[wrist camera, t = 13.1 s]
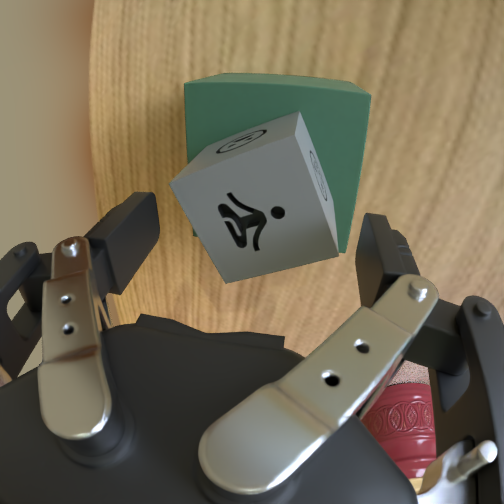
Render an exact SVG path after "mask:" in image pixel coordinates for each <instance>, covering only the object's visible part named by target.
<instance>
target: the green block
mask: <svg viewBox="0 0 504 504" xmlns="http://www.w3.org/2000/svg"><path fill="white" fill-rule="evenodd" d="M184 96H185V122H186V143H187V160H188V164H189V163H190V162H191V161H192V160H193V159H194V158H195V157H196V156H197V155H198V154H199V153H200V152H201V151H202V150H203V149H204V148H205V147H206V146H208V145H211V144H213V143H215V142H218V141H220V140H223V139H225V138H227V137H230V136H232V135H235V134H237V133H240V132H242V131H245V130H248V129H250V128H253V127H255V126H258V125H261V124H263V123H266V122H269V121H272V120H274V119H277V118H280V117H283V116H286V115H288V114H291V113H294V112H297V111H300V113H301V115H302V118H303V120H304V123H305V125H306V128H307V130H308V133H309V135H310V138H311V141H312V143H313V146H314V148H315V151H316V154H317V156H318V159H319V162H320V165H321V167H322V170H323V173H324V176H325V179H326V181H327V184H328V187H329V190H330V193H331V196H332V199H333V203H334V212H335V221H336V231H337V241H338V252H339V253H345V252H346V249H347V244H348V239H349V234H350V229H351V224H352V219H353V214H354V209H355V204H356V198H357V193H358V187H359V181H360V175H361V169H362V163H363V156H364V150H365V143H366V135H367V128H368V120H369V112H370V103H371V94H369V93H368V92H366V91H364V90H363V89H361V88H360V87H358V86H356V85H355V84H353V83H351V82H347V81H340V80H333V79H324V78H315V77H305V76H293V75H278V74H255V73H223V74H219V75H214V76H210V77H206V78H202V79H198V80H194V81H190V82H186V83H184ZM193 236H195V237H198V235H197V234H196V232H195V230H194V228H193Z"/></svg>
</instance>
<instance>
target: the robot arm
mask: <svg viewBox="0 0 504 504" xmlns="http://www.w3.org/2000/svg"><path fill="white" fill-rule="evenodd" d="M159 234H160V225H159V218H158V211H157V203H156V197H155V194H154V193H152V192H134V193H133V194H132V195H131V196H130V197H128V198H127V199H126V200H125V201H124V202H123V203H121V204H120V205H118V206H116V207H114V208H112V209H111V210H110V211H109V212H108V213H107V214H106V215H105V216H104V217H103V218H102V219H101V220H100V222H98V223H97V224H96V225H95V226H94V227H93V228H92V229H91V230H90V231H89V232H88V233H87V234H86V235H85V236H84V237H80V236H76V237H70V238H67V239H65V240H63V241H61V242H60V243H58V244H57V245H56V246H55V248H54V249H53V252H52V253H45V254H39V252H38V249H37V246H36V244H35V243H33V242H24V243H21V244H18V245H17V246H15V247H13V248H12V249H11V250H10V251H9V252H8V253H7V254H6V255H5V256H4V257H3V258H2V259H1V260H0V504H504V325H503V323H502V320H501V318H500V315H499V313H498V311H497V309H496V308H495V307H494V306H493V305H492V304H491V303H490V302H489V301H488V300H486V299H484V298H482V297H479V296H468V297H466V298H465V299H464V301H463V303H462V305H461V306H458V305H455V304H452V303H449V302H446V301H444V300H441V299H439V293H438V290H437V288H436V287H435V285H434V284H433V283H431V282H430V281H429V280H427V279H426V278H424V277H421V276H420V273H419V270H418V268H417V265H416V263H415V260H414V257H413V256H412V253H411V250H410V249H409V245H408V243H407V240H406V238H405V237H404V236H403V235H402V234H401V233H400V232H399V231H398V230H392V229H391V228H390V225H389V223H388V220H387V218H386V216H385V215H379V214H371V213H366V214H365V215H364V219H363V223H362V228H361V232H360V237H359V241H358V245H357V250H356V258H355V265H356V272H357V279H358V286H359V293H360V301H361V307H360V308H359V309H358V310H357V311H356V312H355V313H354V314H353V315H352V316H351V317H350V318H349V319H347V320H346V321H345V322H344V323H343V324H342V325H341V326H340V327H339V328H338V329H337V330H336V331H335V332H334V333H333V334H331V335H330V336H329V337H328V338H327V339H326V340H325V341H324V342H323V343H322V344H321V345H319V346H318V347H317V348H316V349H315V350H314V351H313V352H312V353H310V354H309V355H308V356H307V357H306V358H305V357H303V356H301V355H300V354H298V353H296V352H294V351H291V350H289V349H286V348H283V347H284V340H285V336H277V335H269V334H261V333H254V332H229V333H204V332H201V331H199V330H197V329H194V328H192V327H189V326H187V325H184V324H182V323H180V322H177V321H175V320H172V319H167V318H161V317H156V316H151V315H146V314H140V316H139V318H138V320H137V321H136V323H134V324H124V325H119V326H115V327H113V323H112V319H111V314H110V310H109V306H108V302H107V299H106V295H107V293H113V294H118V295H121V294H122V292H123V291H124V289H125V288H126V286H127V285H128V283H129V282H130V280H131V279H132V277H133V276H134V274H135V273H136V272H137V270H138V269H139V267H140V266H141V264H142V263H143V261H144V260H145V259H146V257H147V256H148V254H149V253H150V251H151V250H152V249H153V247H154V246H155V244H156V243H157V241H158V239H159ZM18 289H19V291H20V293H21V295H22V297H23V299H24V301H25V303H24V305H23V306H22V307H21V309H20V310H19V311H18V313H17V314H16V316H15V317H14V319H13V320H12V321H11V320H10V318H9V316H8V314H7V304H8V301H9V300H10V299H11V297H12V296H13V295H14V294H15V292H16V291H17V290H18ZM41 336H42V363H41V364H39V366H38V367H36V368H34V369H33V370H30V371H29V372H27V373H25V374H23V375H21V376H19V377H18V375H19V373H20V371H21V370H22V368H23V366H24V364H25V363H26V361H27V359H28V358H29V356H30V354H31V353H32V351H33V349H34V348H35V346H36V345H37V343H38V341H39V340H40V338H41ZM406 360H407V361H410V362H413V363H416V364H419V365H422V366H425V367H428V372H429V380H430V387H431V395H432V404H433V414H434V426H435V440H436V459H435V460H433V461H432V462H431V463H430V464H429V465H428V466H427V468H426V470H425V472H424V475H423V480H422V485H421V488H420V490H419V492H418V493H417V494H416V491H415V489H414V487H413V485H412V484H411V482H410V481H409V479H408V478H407V477H406V476H405V474H404V473H403V472H402V471H401V470H400V468H399V467H398V466H397V465H396V463H395V462H394V461H393V460H392V459H391V457H390V456H389V455H388V454H387V453H386V451H385V450H384V449H383V448H382V446H381V445H380V444H379V443H378V442H377V440H376V439H375V438H374V437H373V435H372V434H371V433H370V432H369V430H368V429H367V428H366V427H365V426H364V424H363V423H362V422H361V420H362V419H363V418H364V416H365V415H366V414H367V413H368V411H369V410H370V409H371V407H372V406H373V404H374V403H375V402H376V400H377V399H378V398H379V396H380V395H381V394H382V392H383V391H384V390H385V389H386V387H387V386H388V385H389V383H390V382H391V381H392V379H393V378H394V377H395V375H396V374H397V372H398V371H399V370H400V368H401V367H402V365H403V364H404V363H405V361H406ZM17 377H18V378H17Z"/></svg>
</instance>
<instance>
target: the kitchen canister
mask: <svg viewBox="0 0 504 504" xmlns="http://www.w3.org/2000/svg"><path fill="white" fill-rule="evenodd" d="M361 422H362V423H363V424H364V426H365V427H366V428H367V429H368V430H369V432H370V433H371V434H372V435H373V437H374V438H375V439H376V440H377V442H378V443H379V444H380V445H381V446H382V448H383V449H384V450H385V451H386V453H387V454H388V455H389V456H390V457H391V459H392V460H393V461H394V462H395V463H396V465H397V466H398V467H399V468H400V470H401V471H402V472H403V473H404V474H405V476H406V477H407V478H408V479H409V481H410V482H411V484H412V485H413V487H414V489H415V491H416V494H417V493H418V492H419V490H420V488H421V485H422V480H423V475H424V472H425V470H426V468H427V466H428V465H429V464H430V463H431V462H432V461H433V460H435V459H436V440H435V426H434V414H433V404H432V395H431V387H430V386H429V385H426V384H421V383H404V384H397V385H392V386H389V387H386V389H385V390H384V391H383V392H382V394H381V395H380V396H379V398H378V399H377V400H376V402H375V403H374V404H373V406H372V407H371V409H370V410H369V411H368V413H367V414H366V415H365V416H364V418H363V419H362V420H361Z"/></svg>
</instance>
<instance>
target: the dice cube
mask: <svg viewBox="0 0 504 504" xmlns="http://www.w3.org/2000/svg"><path fill="white" fill-rule="evenodd" d="M169 185H170V187H171V189H172V191H173V193H174V194H175V196H176V198H177V200H178V202H179V203H180V205H181V207H182V209H183V211H184V212H185V214H186V216H187V218H188V219H189V221H190V223H191V225H192V227H193V228H194V230H195V232H196V234H197V235H198V237H199V239H200V241H201V242H202V244H203V246H204V248H205V249H206V251H207V253H208V255H209V256H210V258H211V260H212V261H213V263H214V265H215V267H216V268H217V270H218V272H219V273H220V275H221V277H222V279H223V280H224V282H225V284H227V283H231V282H235V281H240V280H244V279H248V278H252V277H257V276H261V275H265V274H269V273H273V272H278V271H282V270H286V269H290V268H294V267H298V266H302V265H306V264H310V263H314V262H318V261H322V260H326V259H330V258H334V257H338V256H339V252H338V241H337V231H336V221H335V212H334V203H333V199H332V196H331V193H330V190H329V187H328V184H327V181H326V179H325V176H324V173H323V170H322V167H321V165H320V162H319V159H318V156H317V154H316V151H315V148H314V146H313V143H312V141H311V138H310V135H309V133H308V130H307V128H306V125H305V123H304V120H303V118H302V115H301V113H300V111H297V112H294V113H291V114H288V115H286V116H283V117H280V118H277V119H274V120H272V121H269V122H266V123H263V124H261V125H258V126H255V127H253V128H250V129H248V130H245V131H242V132H240V133H237V134H235V135H232V136H230V137H227V138H225V139H223V140H220V141H218V142H215V143H213V144H211V145H208V146H206V147H205V148H204V149H203V150H202V151H201V152H200V153H199V154H198V155H197V156H196V157H195V158H194V159H193V160H192V161H191V162H190V163H189V164H188V165H187V166H186V167H185V168H184V169H183V170H182V171H181V172H180V173H179V174H178V175H177V176H176V177H175V178H174V179H173V180H172V181H171V182H170V183H169Z"/></svg>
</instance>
